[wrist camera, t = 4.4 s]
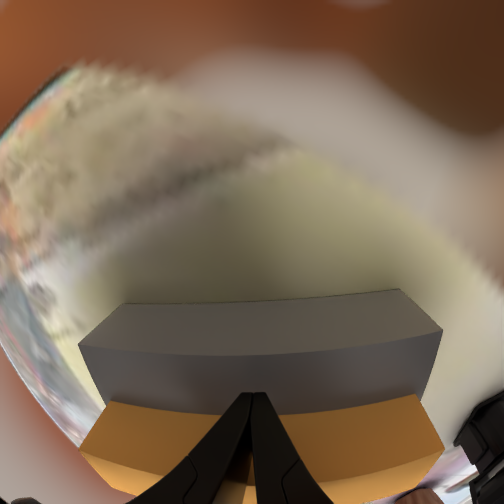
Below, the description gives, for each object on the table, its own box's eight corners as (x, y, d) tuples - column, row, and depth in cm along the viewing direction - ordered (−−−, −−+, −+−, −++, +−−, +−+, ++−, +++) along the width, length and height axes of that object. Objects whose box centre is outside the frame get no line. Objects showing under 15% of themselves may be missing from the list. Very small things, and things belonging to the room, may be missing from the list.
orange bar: (415, 393, 9) (445, 448, 6) (396, 438, 10) (414, 487, 6) (110, 400, 10) (77, 449, 7) (134, 442, 11) (112, 487, 8)
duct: (399, 288, 12) (443, 330, 8) (346, 486, 18) (351, 519, 13) (122, 303, 14) (77, 344, 9) (200, 489, 19) (192, 522, 15)
